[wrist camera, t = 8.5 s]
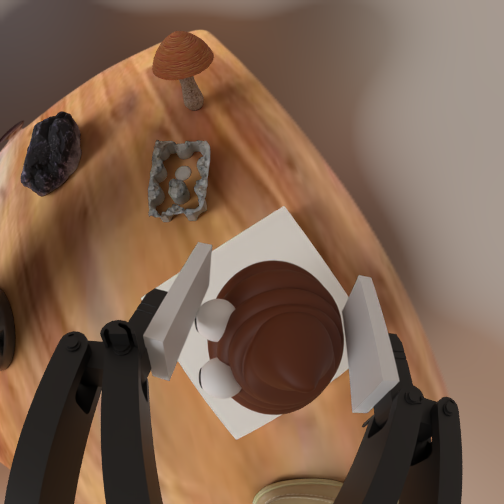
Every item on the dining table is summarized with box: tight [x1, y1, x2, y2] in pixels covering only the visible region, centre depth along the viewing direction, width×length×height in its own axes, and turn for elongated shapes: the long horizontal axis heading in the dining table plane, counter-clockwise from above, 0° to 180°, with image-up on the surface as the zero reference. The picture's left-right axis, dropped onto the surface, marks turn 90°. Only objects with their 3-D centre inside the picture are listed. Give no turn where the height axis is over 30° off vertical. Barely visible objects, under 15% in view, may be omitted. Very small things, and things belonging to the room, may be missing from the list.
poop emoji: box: [194, 260, 344, 415], centre depth 13 cm, size 10×8×9 cm
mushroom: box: [152, 31, 214, 111], centre depth 30 cm, size 8×8×15 cm
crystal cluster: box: [21, 112, 82, 196], centre depth 31 cm, size 13×14×10 cm
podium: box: [141, 206, 349, 440], centre depth 28 cm, size 19×19×4 cm
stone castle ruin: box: [148, 140, 210, 222], centre depth 32 cm, size 11×8×4 cm
